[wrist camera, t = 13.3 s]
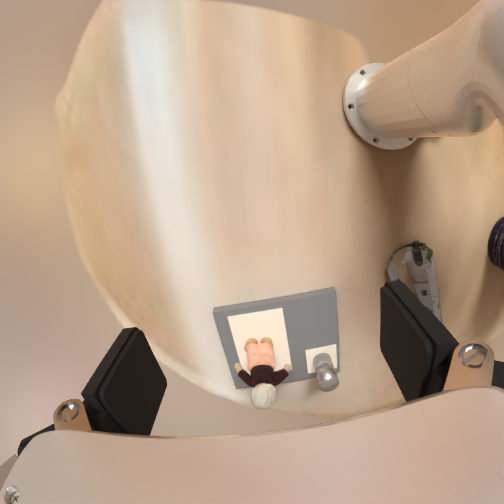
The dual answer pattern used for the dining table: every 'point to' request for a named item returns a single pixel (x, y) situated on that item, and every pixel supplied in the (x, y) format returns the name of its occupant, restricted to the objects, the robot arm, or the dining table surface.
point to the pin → (325, 372)
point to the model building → (421, 275)
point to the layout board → (282, 331)
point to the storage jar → (497, 244)
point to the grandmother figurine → (262, 372)
